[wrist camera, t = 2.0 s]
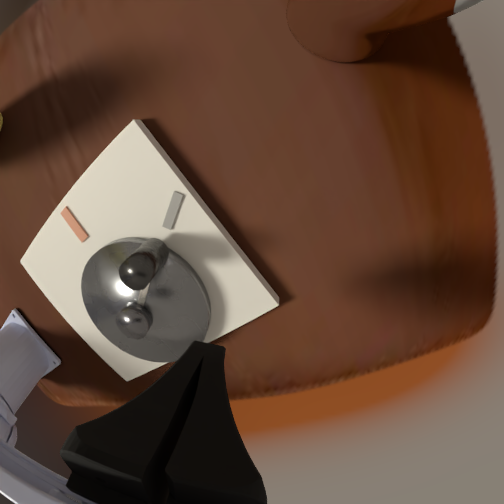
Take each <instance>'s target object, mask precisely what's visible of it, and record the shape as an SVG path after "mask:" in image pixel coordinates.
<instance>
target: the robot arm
mask: <svg viewBox="0 0 504 504" xmlns="http://www.w3.org/2000/svg"><path fill="white" fill-rule="evenodd" d="M225 350H226V349H225V348H224V346H219V345H214V344H210V343H205V342H200V341H193V342H192V343H191V344H190V346H189V347H188V348H187V350H186V351H185V352H184V353H183V354H182V356H181V357H180V358H179V359H178V360H177V361H176V362H175V363H174V364H173V365H172V366H171V367H170V368H169V370H168V371H167V372H166V373H164V374H163V375H162V376H161V377H160V378H159V379H158V380H157V381H156V382H154V383H153V384H152V385H151V386H150V387H148V388H147V389H146V390H145V391H143V392H142V393H141V394H139V395H138V396H136V397H135V398H133V399H132V400H130V401H129V402H127V403H126V404H124V405H122V406H121V407H119V408H117V409H115V410H113V411H111V412H109V413H108V414H106V415H103V416H101V417H99V418H97V419H94V420H92V421H89V422H86V423H84V424H81V425H78V426H76V427H75V429H74V430H73V431H72V432H71V433H70V435H69V436H68V438H67V439H66V441H65V443H64V445H63V447H62V449H61V450H60V455H61V457H62V459H63V460H64V461H65V463H66V464H67V465H68V467H69V468H70V469H71V470H72V474H71V475H70V477H69V479H68V480H67V479H65V478H64V477H62V476H60V475H58V474H56V473H54V472H52V471H51V470H49V469H47V468H46V467H44V466H42V465H40V464H39V463H37V462H35V461H34V460H32V459H31V458H29V457H27V456H26V455H24V454H23V453H21V452H20V451H18V450H17V449H15V448H14V446H15V443H16V440H17V429H16V426H15V425H14V423H15V422H16V420H17V418H16V417H15V416H14V414H15V412H16V411H17V410H18V408H19V407H20V405H21V404H22V402H23V401H24V400H25V398H26V397H27V396H28V394H29V393H30V392H31V390H32V389H33V388H34V386H35V385H36V384H37V382H38V381H39V380H40V379H41V378H42V377H43V376H45V375H46V374H47V373H49V372H50V371H52V370H53V369H54V368H56V367H57V366H59V365H60V364H61V360H60V359H59V358H58V357H57V356H56V354H55V353H54V352H53V351H52V350H51V349H50V348H49V347H48V346H47V345H46V344H45V342H44V341H43V340H42V339H41V338H40V337H39V336H38V335H37V333H36V332H35V331H34V330H33V329H32V327H31V326H30V325H29V324H28V323H27V321H26V320H25V319H24V318H23V316H22V315H21V314H20V313H19V311H18V310H17V309H13V310H12V312H11V314H10V315H9V317H8V318H7V320H6V322H5V323H4V325H3V327H2V328H1V330H0V493H2V494H3V495H4V496H5V497H7V498H8V499H9V500H11V501H12V502H14V503H15V504H79V503H78V502H80V503H82V504H267V496H266V491H265V487H264V484H263V481H262V477H261V475H260V473H259V472H258V470H257V468H256V467H255V465H254V463H253V461H252V460H251V458H250V456H249V454H248V452H247V450H246V448H245V446H244V443H243V441H242V439H241V436H240V434H239V432H238V429H237V427H236V424H235V421H234V418H233V414H232V411H231V407H230V403H229V399H228V394H227V389H226V382H225V374H224V358H225ZM67 496H68V497H67ZM73 499H74V500H75V501H74V500H73ZM76 501H77V502H76Z"/></svg>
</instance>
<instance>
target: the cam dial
mask: <svg viewBox="0 0 504 504" xmlns="http://www.w3.org/2000/svg"><path fill="white" fill-rule="evenodd" d="M81 292H82V298H83V302H84V305H85V308H86V310H87V312H88V315H89V316H90V318H91V320H92V322H93V323H94V325H95V326H96V327H97V329H98V330H99V331H100V332H101V333H102V334H103V336H105V337H106V338H107V339H108V340H109V341H110V342H111V343H112V344H114V345H115V346H116V347H118V348H119V349H121V350H122V351H124V352H126V353H128V354H130V355H132V356H134V357H137V358H140V359H143V360H147V361H151V362H162V363H166V362H174V361H177V360H178V359H179V358H180V357H181V356H182V354H183V353H184V352H185V351H186V350H187V348H188V347H189V346H190V344H191V343H192V342H193V341H200V342H203V341H204V339H205V336H206V334H207V331H208V328H209V325H210V320H211V304H210V299H209V296H208V292H207V290H206V288H205V285H204V284H203V282H202V280H201V278H200V277H199V275H198V274H197V273H196V271H195V270H194V269H193V268H192V267H191V265H190V264H189V263H188V262H187V261H186V260H185V259H183V258H182V257H181V256H180V255H179V254H177V253H176V252H174V251H173V250H171V249H170V248H168V247H167V246H166V244H165V243H164V242H163V241H161V240H160V239H157V238H150V239H144V238H135V237H132V238H122V239H117V240H114V241H112V242H110V243H108V244H106V245H105V246H103V247H102V248H101V249H100V250H98V251H97V252H96V253H95V254H94V255H92V257H91V258H90V259H89V260H88V262H87V264H86V265H85V268H84V270H83V274H82V279H81Z"/></svg>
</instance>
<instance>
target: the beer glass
mask: <svg viewBox="0 0 504 504" xmlns="http://www.w3.org/2000/svg"><path fill="white" fill-rule="evenodd" d="M481 1H483V0H288V3H287V8H286V18H287V23H288V26H289V28H290V31H291V32H292V34H293V36H294V37H295V38H296V39H297V41H298V42H299V43H300V44H301V45H302V46H303V47H305V48H306V49H307V50H309V51H310V52H312V53H313V54H315V55H317V56H319V57H322V58H324V59H327V60H331V61H335V62H356V61H360V60H363V59H366V58H368V57H370V56H371V55H373V54H374V53H375V52H377V51H378V50H379V49H380V47H381V46H382V45H383V43H384V41H385V39H386V37H387V35H388V33H391V32H395V31H399V30H403V29H407V28H411V27H415V26H419V25H423V24H426V23H430V22H433V21H436V20H439V19H443V18H446V17H449V16H451V15H453V14H456V13H458V12H460V11H462V10H464V9H467V8H469V7H471V6H473V5H476V4H478V3H479V2H481Z"/></svg>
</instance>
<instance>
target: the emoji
mask: <svg viewBox="0 0 504 504" xmlns="http://www.w3.org/2000/svg"><path fill="white" fill-rule="evenodd" d="M2 124H3V117H2V114H1V113H0V131H1V128H2Z"/></svg>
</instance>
